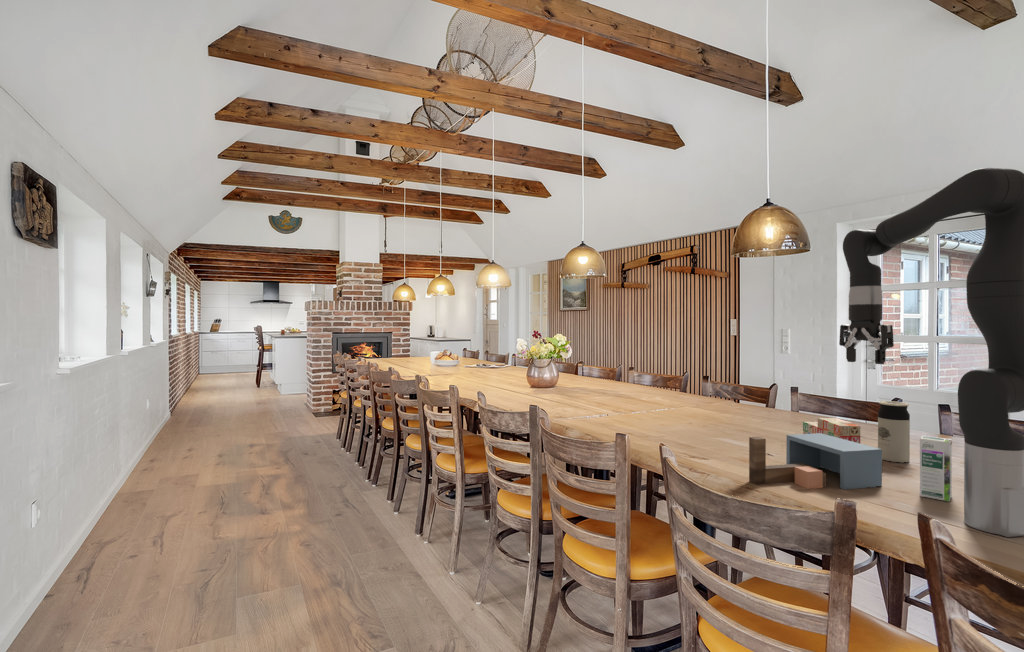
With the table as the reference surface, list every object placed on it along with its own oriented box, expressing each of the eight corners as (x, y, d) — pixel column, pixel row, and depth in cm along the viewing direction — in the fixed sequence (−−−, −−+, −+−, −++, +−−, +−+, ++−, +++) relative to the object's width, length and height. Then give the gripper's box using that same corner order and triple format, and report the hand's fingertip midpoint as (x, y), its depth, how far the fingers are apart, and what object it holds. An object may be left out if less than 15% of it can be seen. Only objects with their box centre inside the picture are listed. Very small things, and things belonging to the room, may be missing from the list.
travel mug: (898, 456, 162) (898, 401, 162) (915, 463, 154) (916, 405, 154) (872, 456, 162) (872, 400, 162) (888, 462, 154) (888, 404, 154)
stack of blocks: (802, 448, 173) (802, 412, 173) (821, 448, 173) (821, 412, 173) (839, 465, 152) (839, 425, 152) (860, 465, 152) (860, 425, 152)
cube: (822, 488, 131) (822, 470, 131) (807, 489, 130) (807, 471, 130) (808, 482, 135) (809, 466, 135) (794, 483, 134) (794, 467, 134)
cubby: (881, 486, 132) (881, 449, 132) (844, 489, 129) (844, 451, 129) (820, 465, 151) (820, 433, 151) (786, 467, 149) (786, 434, 149)
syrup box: (919, 496, 124) (919, 437, 124) (922, 491, 128) (922, 434, 128) (949, 502, 120) (949, 441, 120) (952, 496, 124) (952, 438, 124)
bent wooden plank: (825, 486, 132) (826, 440, 132) (769, 490, 128) (769, 443, 128) (802, 477, 139) (803, 434, 139) (749, 481, 136) (749, 437, 136)
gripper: (901, 302, 130) (901, 364, 130) (853, 304, 144) (853, 361, 144) (877, 302, 129) (877, 365, 129) (831, 304, 143) (831, 361, 143)
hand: (865, 362), depth 137 cm, fingers open, 8 cm apart
